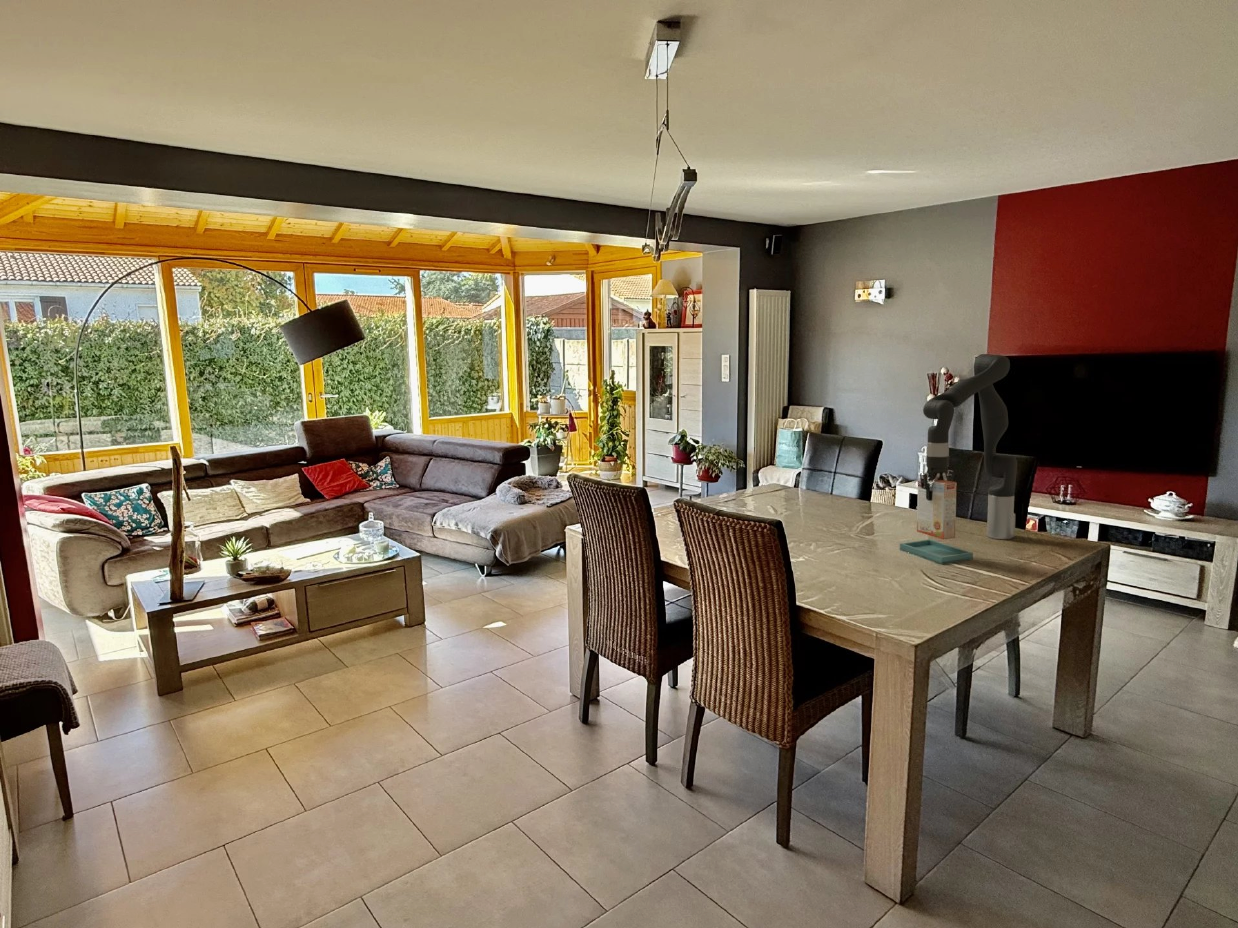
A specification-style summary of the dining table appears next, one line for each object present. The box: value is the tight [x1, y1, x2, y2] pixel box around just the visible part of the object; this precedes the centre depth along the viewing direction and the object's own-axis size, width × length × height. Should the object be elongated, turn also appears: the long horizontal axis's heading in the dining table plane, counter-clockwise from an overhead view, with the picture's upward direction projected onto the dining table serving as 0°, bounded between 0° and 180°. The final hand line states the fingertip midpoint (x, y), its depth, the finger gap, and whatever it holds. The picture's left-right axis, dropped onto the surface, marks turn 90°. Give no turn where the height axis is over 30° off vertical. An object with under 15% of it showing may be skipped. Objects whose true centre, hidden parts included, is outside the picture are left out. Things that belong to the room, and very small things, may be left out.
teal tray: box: [899, 538, 974, 565], centre depth 274 cm, size 14×22×2 cm, turn 19°
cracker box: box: [916, 477, 958, 540], centre depth 272 cm, size 14×6×21 cm, turn 18°
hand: (936, 499), depth 271 cm, fingers closed on cracker box, 6 cm apart
